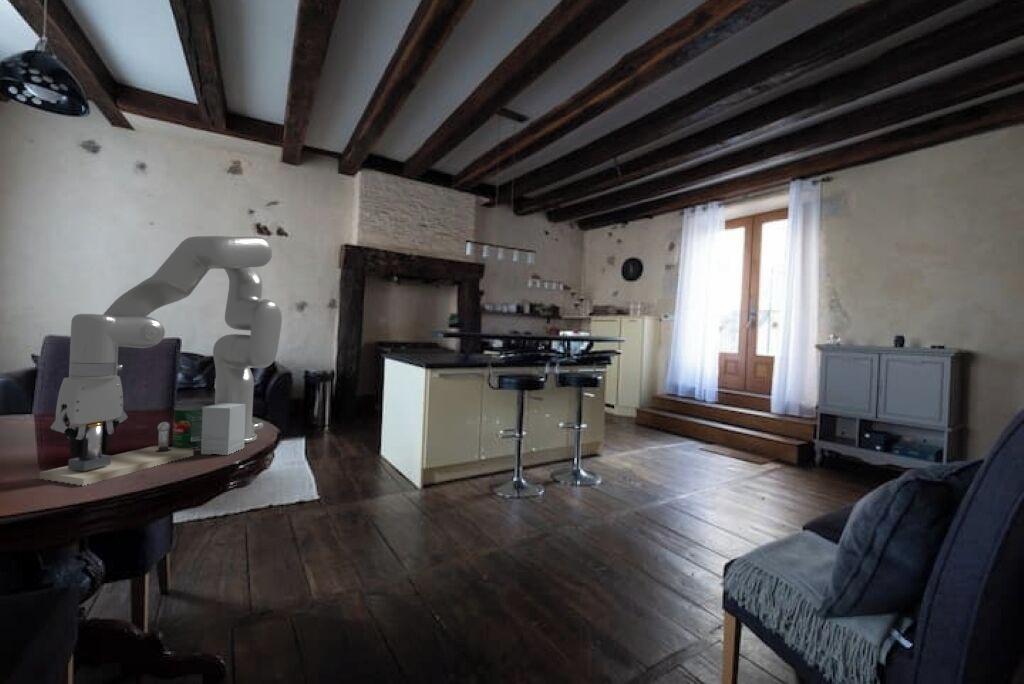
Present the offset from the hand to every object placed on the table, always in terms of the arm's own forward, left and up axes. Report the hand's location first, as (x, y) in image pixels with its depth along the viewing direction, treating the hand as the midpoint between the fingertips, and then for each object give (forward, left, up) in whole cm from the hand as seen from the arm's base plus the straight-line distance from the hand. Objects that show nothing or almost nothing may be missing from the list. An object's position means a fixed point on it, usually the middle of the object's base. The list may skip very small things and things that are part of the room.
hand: (90, 453), depth 94 cm
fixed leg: (-16, 0, -3) cm, 16 cm away
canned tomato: (-26, -3, -5) cm, 27 cm away
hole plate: (-7, 0, -5) cm, 8 cm away
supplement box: (-25, +9, -5) cm, 27 cm away
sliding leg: (0, 0, -3) cm, 3 cm away
